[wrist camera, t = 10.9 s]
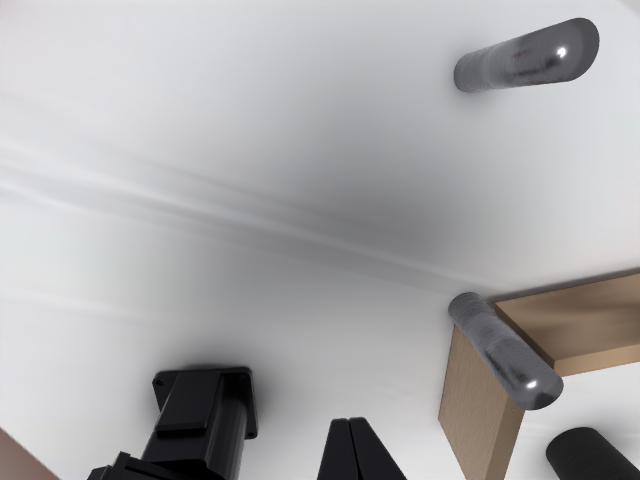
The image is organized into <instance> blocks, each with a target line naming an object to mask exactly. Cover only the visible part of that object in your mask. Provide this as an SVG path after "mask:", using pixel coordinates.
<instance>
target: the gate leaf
mask: <svg viewBox="0 0 640 480" xmlns="http://www.w3.org/2000/svg"><path fill="white" fill-rule="evenodd" d="M495 312H496V313H497V314H498V315H499V316H500V317H501V318H502V319H503V320H504V321H505V322H506V323H507V324H508V325H509V326H510V327H511V328H512V329H513V330H514V331H515V332H516V333H517V334H518V335H519V336H520V337H521V338H522V339H523V340H524V341H525V342H526V343H527V344H528V345H529V346H530V347H531V348H532V349H533V350H534V351H535V352H536V353H537V354H538V355H539V356H540V357H541V358H542V359H543V360H544V361H545V362H546V363H547V364H548V365H549V366H550V367H551V368H552V369H553V370H554V371H555V372H556V373H557V374H558V375H559V376H560V377H565V376H570V375H575V374H580V373H585V372H590V371H595V370H600V369H605V368H610V367H615V366H620V365H625V364H630V363H635V362H640V274H636V275H631V276H626V277H621V278H616V279H611V280H606V281H601V282H596V283H591V284H586V285H581V286H576V287H571V288H566V289H561V290H556V291H551V292H546V293H541V294H536V295H531V296H527V297H522V298H517V299H512V300H507V301H502V302H497V303H495Z"/></svg>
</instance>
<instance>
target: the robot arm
mask: <svg viewBox="0 0 640 480" xmlns="http://www.w3.org/2000/svg"><path fill="white" fill-rule="evenodd" d="M242 375H245V376H242ZM160 380H162V381H160ZM152 384H153V387H154V391H155V395H156V398H157V402H158V406H159V409H160V415H159V418H158V420H157V422H156V424H155V427H154V430H153V432H152V434H151V437H150V439H149V441H148V443H147V446H146V448H145V450H144V452H143V455H142V457H141V459H137V458H134V457H130V455H131V454H128V453H125V452H122V451H120V453H119V454H118V456H117V458H116V459H115V461H114V463H113V464H112V466H110V465H107V466H105V467H101V468H96V469H93V470H92V472H91V474H90V475H89V477H88V479H87V480H238V476H239V470H240V464H241V457H242V451H243V445H244V440H246V439H254V438H256V437H257V434H258V424H257V416H256V407H255V399H254V391H253V383H252V374H251V371H250V370H249V369H248V368H229V369H213V370H196V371H180V372H164V373H158V374H156V376H155V377H154V379H153V381H152ZM317 480H407V479H406V477H405V476H404V474H403V473H402V471H401V470H400V468H399V467H398V465H397V464H396V463H395V461H394V460H393V458H392V457H391V455H390V454H389V452H388V451H387V449H386V448H385V446H384V445H383V444H382V442H381V441H380V439H379V438H378V436H377V435H376V433H375V432H374V430H373V429H372V427H371V426H370V424H369V423H368V422H367V420H366V419H365V418H364V417H354V418H349V420H347V419H346V418H340V419H333V420H332V421H331V424H330V429H329V433H328V437H327V441H326V445H325V449H324V453H323V457H322V461H321V465H320V469H319V473H318V477H317Z"/></svg>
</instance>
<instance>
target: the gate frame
mask: <svg viewBox="0 0 640 480" xmlns="http://www.w3.org/2000/svg"><path fill="white" fill-rule="evenodd" d="M598 49H599V33H598V30H597V28H596V26H595V25H594V24H593V23H592V22H591V21H590V20H588V19H585V18H574V19H571V20H568V21H565V22H562V23H559V24H556V25H553V26H550V27H547V28H544V29H541V30H538V31H535V32H532V33H529V34H526V35H523V36H520V37H517V38H514V39H511V40H508V41H505V42H502V43H499V44H496V45H493V46H490V47H487V48H484V49H481V50H478V51H475V52H472V53H469V54H467V55H465V56H464V57H462V58H461V59H460V60H459V62H458V63H457V65H456V68H455V71H454V80H455V83H456V85H457V87H458V88H459V89H460V90H462V91H464V92H476V91H485V90H495V89H504V88H513V87H522V86H531V85H540V84H549V83H558V82H567V81H572V80H574V79H576V78H578V77H580V76H581V75H582V74H584V73H585V72H586V71H587V70H588V69H589V67H590V66H591V65H592V63H593V62H594V60H595V58H596V55H597V52H598ZM449 315H450V317H451V319H452V320H453V321H454V323H455V326H454V332H453V338H452V343H451V349H450V355H449V361H448V367H447V372H446V378H445V384H444V390H443V396H442V402H441V407H440V413H439V419H438V420H439V422H440V424H441V426H442V428H443V430H444V433H445V435H446V437H447V439H448V441H449V443H450V446H451V448H452V450H453V452H454V454H455V456H456V458H457V461H458V463H459V465H460V467H461V469H462V471H463V474H464V476H465V478H466V480H504V478H505V474H506V471H507V468H508V465H509V461H510V458H511V455H512V452H513V448H514V445H515V442H516V439H517V435H518V432H519V429H520V426H521V422H522V419H523V416H524V413H525V410H538V409H542V408H544V407H546V406H548V405H550V404H552V403H553V402H554V401H555V400H556V399H557V398H558V397H559V396H560V394H561V393H562V391H563V386H564V385H563V380H562V378H561V377H560V376H559V375H558V374H557V373H556V372H555V371H554V370H553V369H552V368H551V367H550V366H549V365H548V364H547V363H546V362H545V361H544V360H543V359H542V358H541V357H540V356H539V355H538V354H537V353H536V352H535V351H534V350H533V349H532V348H531V347H530V346H529V345H528V344H527V343H526V342H525V341H524V340H523V339H522V338H521V337H520V336H519V335H518V334H517V333H516V332H515V331H514V330H513V329H512V328H511V327H510V326H509V325H508V324H507V323H506V322H505V321H504V320H503V319H502V318H501V317H500V316H499V315H498V314H497V313H496V312H495V311H494V310H493V309H492V308H491V307H490V306H489V305H488V304H487V303H486V302H485V301H484V300H483V299H482V298H481V297H480V296H479V295H477V294H475V293H464V294H462V295H459V296H458V297H456V298H455V299H454V300H453V301H452V303H451V304H450V307H449Z"/></svg>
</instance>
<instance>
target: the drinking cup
mask: <svg viewBox="0 0 640 480" xmlns="http://www.w3.org/2000/svg"><path fill="white" fill-rule="evenodd" d="M546 456H547V459H548V461H549V462H550V464H551V466H552V467H553V469H554V470H555V472H556V474H557V475H558V477H559V479H560V480H640V471H639V470H638V469H637V468H636V467H635V466H634V465H633V464H632V463H631V462H630V461H629V460H627V459H626V458H625V457H624V456H623V455H622V454H621V453H620V452H619V451H618V450H617V449H616V448H614V447H613V446H612V445H611V444H610V443H609V442H608V441H607V440H606V439H605V438H604V437H603V436H602V435H600V434H599V433H598V432H597V431H596V430H594V429H591V428H576V429H572V430H569V431H567V432H564V433H563V434H561V435H559V436H558V437H556V438H555V439H554V440H553V441H552V442H551V443H550V445H549V446H548V448H547V452H546Z"/></svg>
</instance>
